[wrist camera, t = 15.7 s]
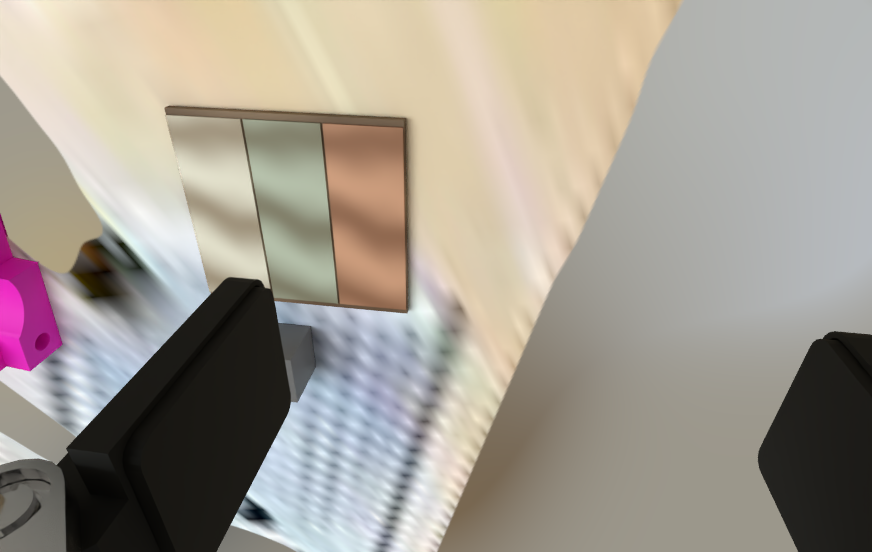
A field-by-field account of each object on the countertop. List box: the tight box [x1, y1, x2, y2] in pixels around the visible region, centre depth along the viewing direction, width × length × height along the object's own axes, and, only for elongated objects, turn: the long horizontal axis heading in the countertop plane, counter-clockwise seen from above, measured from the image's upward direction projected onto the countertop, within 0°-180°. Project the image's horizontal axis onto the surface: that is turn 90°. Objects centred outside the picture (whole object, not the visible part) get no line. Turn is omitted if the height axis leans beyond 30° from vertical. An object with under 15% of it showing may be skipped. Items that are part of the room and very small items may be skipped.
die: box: [278, 323, 316, 402], centre depth 49 cm, size 5×5×5 cm
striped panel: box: [165, 106, 408, 313], centre depth 43 cm, size 17×18×1 cm
